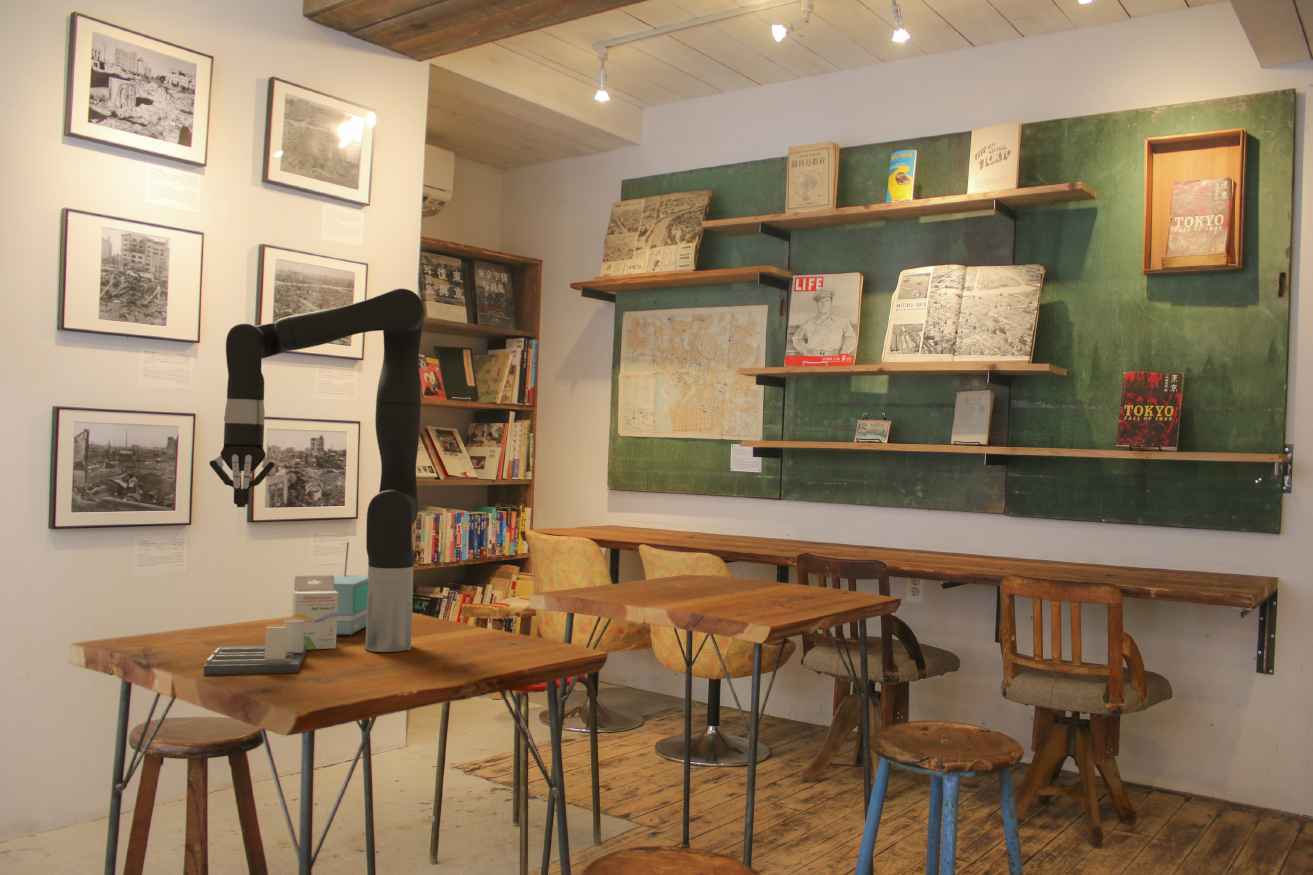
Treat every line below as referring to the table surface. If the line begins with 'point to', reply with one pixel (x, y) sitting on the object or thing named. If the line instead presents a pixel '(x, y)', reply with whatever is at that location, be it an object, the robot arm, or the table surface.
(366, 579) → the radio
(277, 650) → the fader near
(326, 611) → the ink box
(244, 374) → the robot arm
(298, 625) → the fader far
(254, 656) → the gray slotted tray
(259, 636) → the table surface
